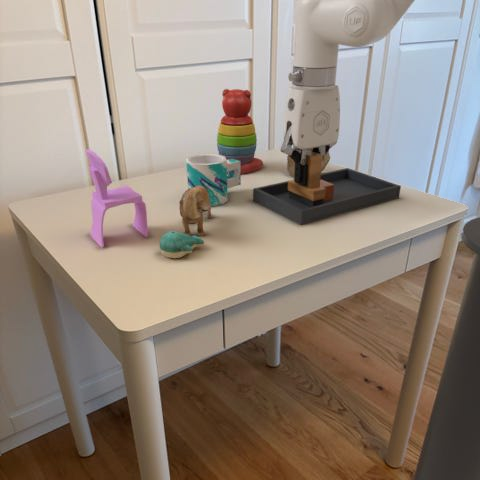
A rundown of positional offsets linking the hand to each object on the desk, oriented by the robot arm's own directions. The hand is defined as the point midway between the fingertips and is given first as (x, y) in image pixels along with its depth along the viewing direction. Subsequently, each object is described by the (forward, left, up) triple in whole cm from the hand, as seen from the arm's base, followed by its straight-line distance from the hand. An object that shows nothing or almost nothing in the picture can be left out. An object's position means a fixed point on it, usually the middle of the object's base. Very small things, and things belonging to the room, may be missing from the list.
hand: (307, 181), depth 96 cm
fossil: (+16, -13, -5) cm, 21 cm away
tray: (0, -5, -5) cm, 7 cm away
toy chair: (+6, +37, -5) cm, 37 cm away
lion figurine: (+1, +24, -5) cm, 24 cm away
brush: (0, 0, -4) cm, 4 cm away
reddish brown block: (0, -4, -4) cm, 5 cm away
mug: (+14, +13, -5) cm, 19 cm away
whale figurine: (-6, +31, -5) cm, 32 cm away
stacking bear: (+29, -2, -5) cm, 29 cm away
